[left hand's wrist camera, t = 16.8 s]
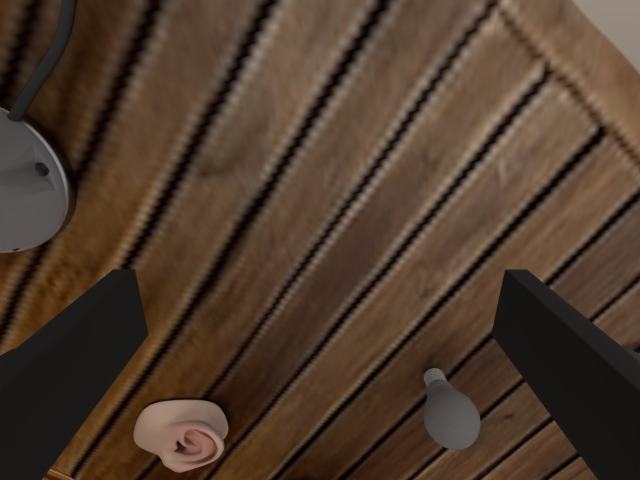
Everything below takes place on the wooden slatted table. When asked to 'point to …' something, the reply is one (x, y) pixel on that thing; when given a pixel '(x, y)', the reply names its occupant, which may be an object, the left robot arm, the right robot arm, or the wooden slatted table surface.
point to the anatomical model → (182, 432)
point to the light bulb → (449, 413)
